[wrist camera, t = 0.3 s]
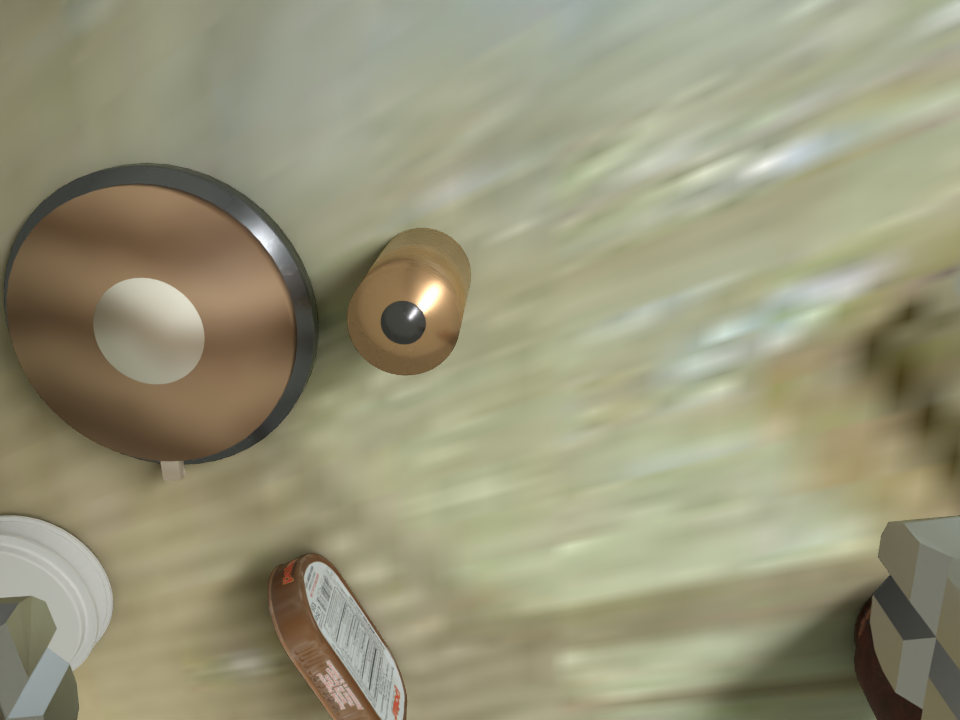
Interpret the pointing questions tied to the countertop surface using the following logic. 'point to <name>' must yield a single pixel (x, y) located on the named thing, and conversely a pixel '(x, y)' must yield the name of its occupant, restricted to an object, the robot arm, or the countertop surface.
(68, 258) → the turntable
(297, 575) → the tin
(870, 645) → the brown bottle
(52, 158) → the countertop surface
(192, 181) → the turntable base
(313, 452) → the countertop surface
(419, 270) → the canister
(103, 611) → the lid
